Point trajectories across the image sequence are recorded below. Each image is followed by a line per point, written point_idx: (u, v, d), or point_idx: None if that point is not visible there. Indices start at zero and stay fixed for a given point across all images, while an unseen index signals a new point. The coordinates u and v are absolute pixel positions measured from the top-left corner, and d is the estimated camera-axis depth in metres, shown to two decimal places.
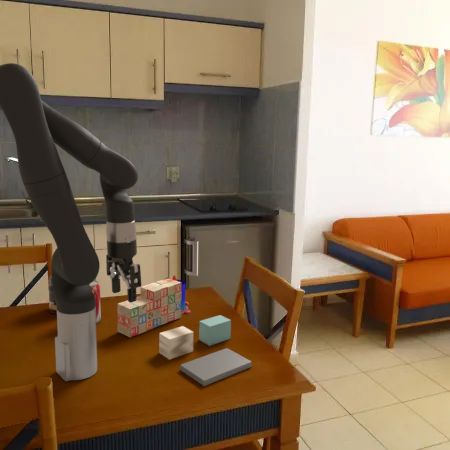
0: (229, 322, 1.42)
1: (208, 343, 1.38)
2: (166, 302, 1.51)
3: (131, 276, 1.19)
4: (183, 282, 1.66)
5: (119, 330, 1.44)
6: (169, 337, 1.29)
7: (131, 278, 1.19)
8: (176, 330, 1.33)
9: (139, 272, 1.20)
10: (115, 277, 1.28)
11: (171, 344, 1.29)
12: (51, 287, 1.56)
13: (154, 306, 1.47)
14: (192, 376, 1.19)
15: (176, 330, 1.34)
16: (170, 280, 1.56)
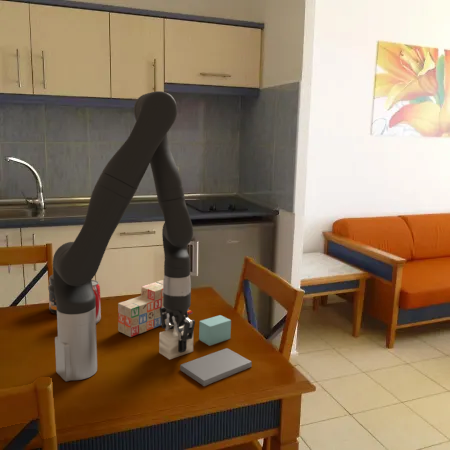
0: (229, 322, 1.42)
1: (208, 343, 1.38)
2: None
3: (185, 330, 1.27)
4: None
5: (120, 330, 1.44)
6: (169, 337, 1.29)
7: (185, 332, 1.27)
8: None
9: (193, 327, 1.27)
10: None
11: (171, 344, 1.29)
12: (51, 287, 1.56)
13: (155, 306, 1.47)
14: (192, 376, 1.19)
15: None
16: None
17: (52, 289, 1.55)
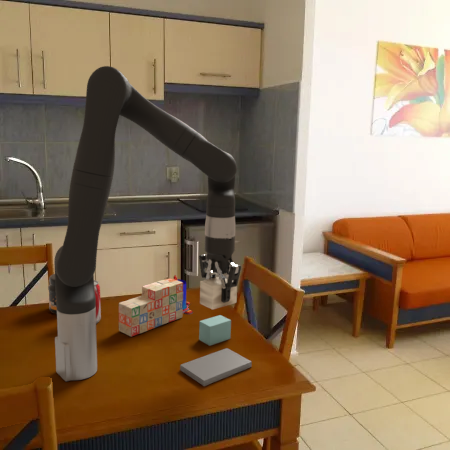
0: (229, 322, 1.42)
1: (208, 343, 1.38)
2: (168, 302, 1.51)
3: (230, 276, 1.15)
4: (184, 282, 1.66)
5: (120, 329, 1.45)
6: (212, 284, 1.17)
7: (230, 278, 1.15)
8: (218, 279, 1.21)
9: (238, 273, 1.15)
10: None
11: (214, 292, 1.17)
12: (51, 287, 1.56)
13: (155, 306, 1.47)
14: (192, 376, 1.19)
15: (218, 278, 1.22)
16: (172, 280, 1.57)
17: (52, 289, 1.55)
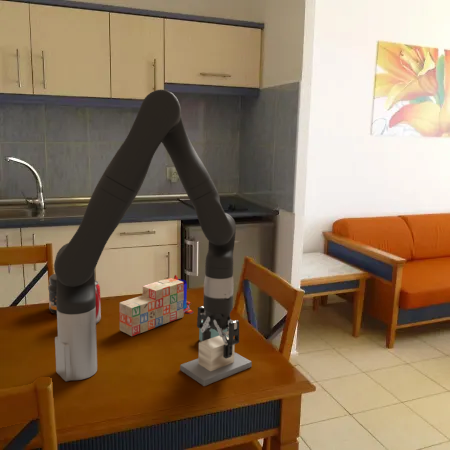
0: None
1: None
2: (168, 302, 1.51)
3: (230, 333, 1.17)
4: (184, 281, 1.66)
5: (121, 329, 1.45)
6: (210, 347, 1.20)
7: (230, 334, 1.17)
8: (216, 339, 1.25)
9: (238, 329, 1.18)
10: (206, 330, 1.26)
11: (213, 355, 1.20)
12: (51, 287, 1.56)
13: (156, 306, 1.47)
14: (192, 376, 1.19)
15: (216, 339, 1.25)
16: (172, 279, 1.57)
17: (52, 289, 1.55)
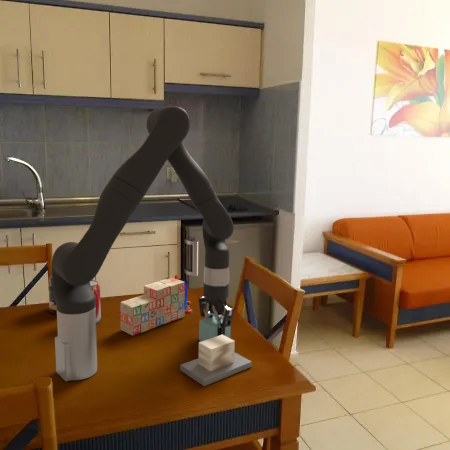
0: None
1: None
2: (169, 301, 1.52)
3: (225, 318, 1.36)
4: (185, 281, 1.67)
5: (122, 328, 1.45)
6: (210, 347, 1.20)
7: (224, 319, 1.36)
8: (216, 339, 1.25)
9: (232, 315, 1.36)
10: None
11: (213, 355, 1.20)
12: (51, 287, 1.56)
13: (157, 305, 1.48)
14: (192, 376, 1.19)
15: (216, 339, 1.25)
16: (174, 279, 1.57)
17: (52, 289, 1.55)
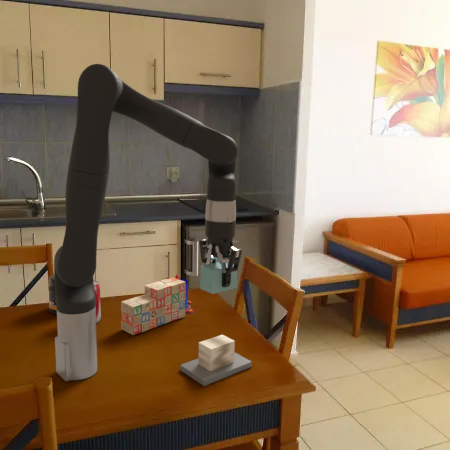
0: None
1: (211, 291, 1.17)
2: (170, 301, 1.52)
3: (231, 260, 1.14)
4: (186, 281, 1.67)
5: (123, 328, 1.46)
6: (210, 347, 1.20)
7: (230, 262, 1.14)
8: (216, 339, 1.25)
9: (239, 257, 1.15)
10: None
11: (213, 355, 1.20)
12: (51, 287, 1.56)
13: (157, 305, 1.48)
14: (192, 376, 1.19)
15: (216, 339, 1.25)
16: (175, 279, 1.57)
17: (52, 289, 1.55)
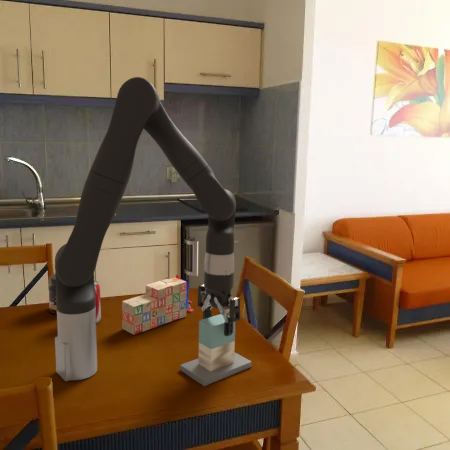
0: None
1: (209, 346, 1.19)
2: (171, 301, 1.52)
3: (231, 310, 1.16)
4: (186, 281, 1.67)
5: (123, 327, 1.46)
6: None
7: (231, 311, 1.16)
8: None
9: (239, 306, 1.17)
10: (207, 309, 1.25)
11: (213, 355, 1.20)
12: (51, 287, 1.56)
13: (158, 305, 1.48)
14: (192, 376, 1.19)
15: None
16: (176, 279, 1.58)
17: (52, 289, 1.55)
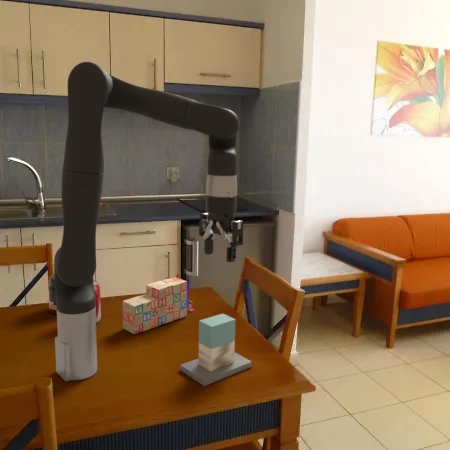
0: (233, 322, 1.23)
1: (209, 346, 1.19)
2: (171, 301, 1.52)
3: (234, 233, 1.12)
4: (187, 281, 1.67)
5: (124, 327, 1.46)
6: None
7: (234, 234, 1.12)
8: None
9: (242, 229, 1.13)
10: (209, 237, 1.21)
11: (213, 355, 1.20)
12: (51, 287, 1.56)
13: (159, 304, 1.48)
14: (192, 376, 1.19)
15: None
16: (176, 279, 1.58)
17: (52, 289, 1.55)
